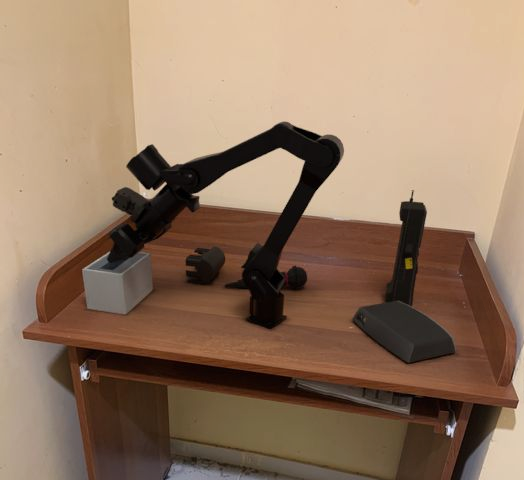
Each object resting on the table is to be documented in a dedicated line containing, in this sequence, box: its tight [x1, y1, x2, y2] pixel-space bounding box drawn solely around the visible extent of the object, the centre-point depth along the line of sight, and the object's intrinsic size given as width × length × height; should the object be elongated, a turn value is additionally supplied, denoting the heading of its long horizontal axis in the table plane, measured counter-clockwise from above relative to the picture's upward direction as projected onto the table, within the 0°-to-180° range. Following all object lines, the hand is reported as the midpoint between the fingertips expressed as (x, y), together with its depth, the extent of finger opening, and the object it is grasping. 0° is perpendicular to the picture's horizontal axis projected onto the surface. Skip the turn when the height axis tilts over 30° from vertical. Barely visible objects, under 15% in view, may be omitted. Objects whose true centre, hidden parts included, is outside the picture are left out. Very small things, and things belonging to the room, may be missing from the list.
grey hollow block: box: [81, 251, 154, 315], centre depth 115 cm, size 9×14×9 cm
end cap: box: [185, 245, 226, 285], centre depth 129 cm, size 10×7×7 cm
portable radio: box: [384, 189, 428, 307], centre depth 116 cm, size 8×6×25 cm
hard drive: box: [352, 301, 457, 363], centre depth 106 cm, size 13×19×4 cm
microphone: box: [224, 265, 308, 291], centre depth 125 cm, size 6×6×20 cm
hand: (119, 254), depth 112 cm, fingers open, 9 cm apart
